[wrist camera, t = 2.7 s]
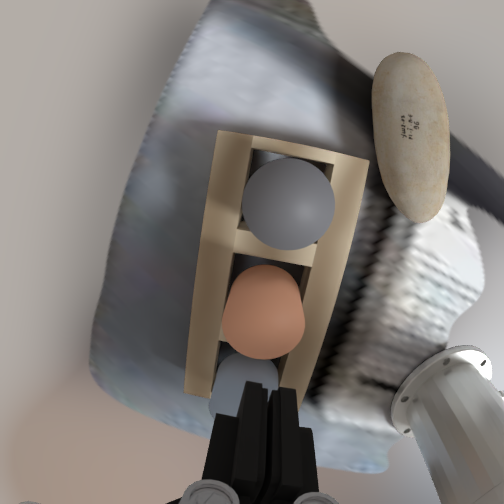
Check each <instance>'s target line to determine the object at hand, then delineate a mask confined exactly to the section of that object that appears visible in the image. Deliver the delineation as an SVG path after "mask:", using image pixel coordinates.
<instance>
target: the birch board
mask: <svg viewBox="0 0 504 504" xmlns="http://www.w3.org/2000/svg"><path fill="white" fill-rule="evenodd" d="M254 150H260V151H265V152H271V153H276V154H281V155H287V156H292V157H296V158H301V159H306V160H311V161H315V162H320V163H324V164H326V169H325V174H324V175H325V176H326V178H327V179H328V181H329V183H330V184H331V187H332V189H333V193H334V197H335V211H334V216H333V219H332V222H331V224H330V226H329V228H328V229H327V231H326V232H325V234H324V235H323V236H322V237H321V238H320V239H319V240H317V241H316V242H315V243H313V244H311V245H309V246H307V247H305V248H302V249H298V250H279V249H275V248H272V247H270V246H268V245H266V244H264V243H263V242H261V241H260V240H258V239H257V238H256V237H255V236H254V235H253V233H252V232H251V231H250V229H249V228H248V226H247V224H246V222H244V221H241V218H242V212H243V211H242V197H243V192H244V189H245V187H246V184H247V182H248V178H249V173H250V167H251V161H252V156H253V151H254ZM368 167H369V160H365V159H361V158H357V157H353V156H349V155H345V154H341V153H337V152H333V151H329V150H325V149H320V148H316V147H311V146H306V145H302V144H297V143H292V142H287V141H282V140H277V139H271V138H266V137H260V136H254V135H248V134H242V133H236V132H229V131H222V130H218V132H217V138H216V144H215V149H214V155H213V161H212V167H211V173H210V179H209V185H208V191H207V198H206V204H205V211H204V217H203V224H202V231H201V238H200V246H199V253H198V261H197V268H196V276H195V284H194V293H193V301H192V310H191V319H190V328H189V338H188V348H187V359H186V370H185V381H184V393H186V394H191V395H195V396H200V397H204V398H209V399H210V398H211V394H212V390H213V386H214V382H215V379H216V375H217V372H216V369H217V362H218V356H219V350H220V343H221V341H225V342H228V341H227V340H226V338H225V336H224V333H223V329H222V317H223V313H224V309H225V306H226V303H227V300H228V294H229V288H230V282H231V276H232V270H233V264H234V258H235V253H240V254H245V255H251V256H256V257H261V258H267V259H272V260H277V261H283V262H288V263H293V264H299V265H304V270H303V274H302V278H301V282H300V286H299V292H300V297H301V302H302V307H303V312H304V317H305V329H304V333H303V336H302V338H301V340H300V342H299V343H298V344H297V346H296V347H295V348H294V349H292V350H291V351H290V352H288V353H287V354H285V355H283V356H281V359H280V363H279V366H278V370H277V371H278V388H279V387H286V388H292V389H296V394H297V406H298V411H299V408H300V406H301V403H302V400H303V398H304V395H305V392H306V390H307V387H308V384H309V381H310V378H311V376H312V373H313V370H314V367H315V364H316V361H317V358H318V355H319V352H320V349H321V346H322V343H323V340H324V337H325V334H326V331H327V328H328V324H329V321H330V318H331V315H332V311H333V308H334V305H335V301H336V298H337V294H338V291H339V287H340V284H341V280H342V277H343V273H344V269H345V266H346V262H347V258H348V254H349V251H350V247H351V243H352V239H353V235H354V230H355V226H356V222H357V218H358V214H359V209H360V205H361V200H362V196H363V191H364V186H365V182H366V177H367V172H368Z"/></svg>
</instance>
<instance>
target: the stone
mask: <svg viewBox="0 0 504 504" xmlns="http://www.w3.org/2000/svg"><path fill="white" fill-rule="evenodd" d="M372 114H373V128H374V142H375V149H376V155H377V161H378V166H379V169H380V173H381V177H382V181H383V184H384V186H385V188H386V190H387V192H388V194H389V196H390V198H391V199H392V201H393V202H394V204H395V205H396V206H397V208H398V209H399V210H400V212H401V213H402V214H404V215H405V216H406V217H407V218H408V219H410V220H411V221H413V222H416V223H423V222H427V221H429V220H431V219H432V218H433V217H434V216H435V215H436V214H437V213H438V212H439V210H440V209H441V207H442V205H443V202H444V199H445V195H446V190H447V182H448V175H449V165H450V134H449V121H448V114H447V109H446V104H445V100H444V96H443V93H442V90H441V88H440V85H439V83H438V81H437V78H436V77H435V75H434V73H433V71H432V70H431V68H430V67H429V66H428V65H427V64H426V62H424V61H423V60H422V59H421V58H419V57H417V56H415V55H413V54H410V53H403V52H397V53H394V54H391V55H389V56H387V57H386V58H384V59H383V60H382V61H381V63H380V64H379V66H378V68H377V69H376V72H375V75H374V80H373V85H372Z"/></svg>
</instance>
